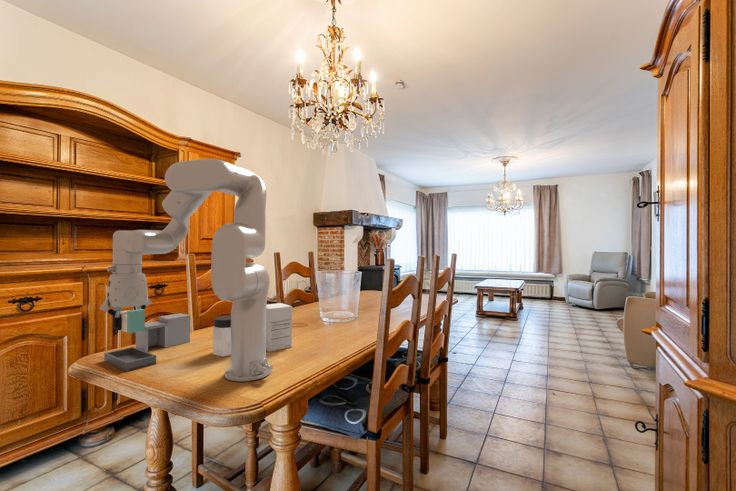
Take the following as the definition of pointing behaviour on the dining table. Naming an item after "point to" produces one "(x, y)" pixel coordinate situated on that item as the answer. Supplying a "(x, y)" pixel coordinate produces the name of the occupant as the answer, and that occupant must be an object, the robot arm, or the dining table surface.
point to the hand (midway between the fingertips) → (126, 327)
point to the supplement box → (278, 326)
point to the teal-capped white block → (133, 321)
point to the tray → (130, 358)
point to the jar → (222, 336)
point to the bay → (165, 332)
